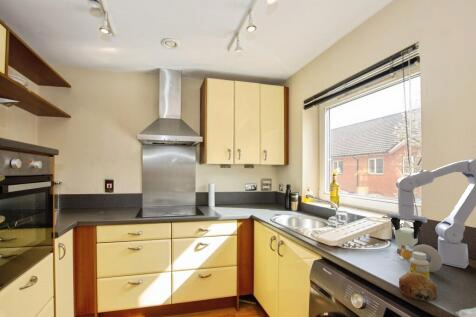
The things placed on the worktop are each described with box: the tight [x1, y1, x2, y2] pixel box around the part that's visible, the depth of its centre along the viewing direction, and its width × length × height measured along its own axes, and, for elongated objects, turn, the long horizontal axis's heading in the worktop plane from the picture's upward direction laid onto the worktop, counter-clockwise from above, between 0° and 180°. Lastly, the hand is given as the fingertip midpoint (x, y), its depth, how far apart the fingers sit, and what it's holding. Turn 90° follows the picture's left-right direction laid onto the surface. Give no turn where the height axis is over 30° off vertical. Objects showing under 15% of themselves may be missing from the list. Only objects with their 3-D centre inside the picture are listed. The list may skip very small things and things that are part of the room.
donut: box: [411, 243, 443, 273], centre depth 99 cm, size 10×4×10 cm, turn 31°
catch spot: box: [398, 255, 412, 262], centre depth 112 cm, size 6×6×1 cm
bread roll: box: [398, 271, 438, 302], centre depth 82 cm, size 10×10×8 cm
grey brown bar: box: [396, 247, 428, 260], centre depth 116 cm, size 11×1×2 cm, turn 41°
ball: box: [400, 249, 412, 259], centre depth 112 cm, size 4×4×4 cm
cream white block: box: [394, 227, 419, 248], centre depth 112 cm, size 9×6×5 cm, turn 131°
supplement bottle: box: [409, 252, 430, 279], centre depth 90 cm, size 5×5×10 cm
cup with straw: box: [391, 219, 413, 250], centre depth 124 cm, size 8×9×20 cm
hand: (406, 236), depth 112 cm, fingers closed on cream white block, 6 cm apart
